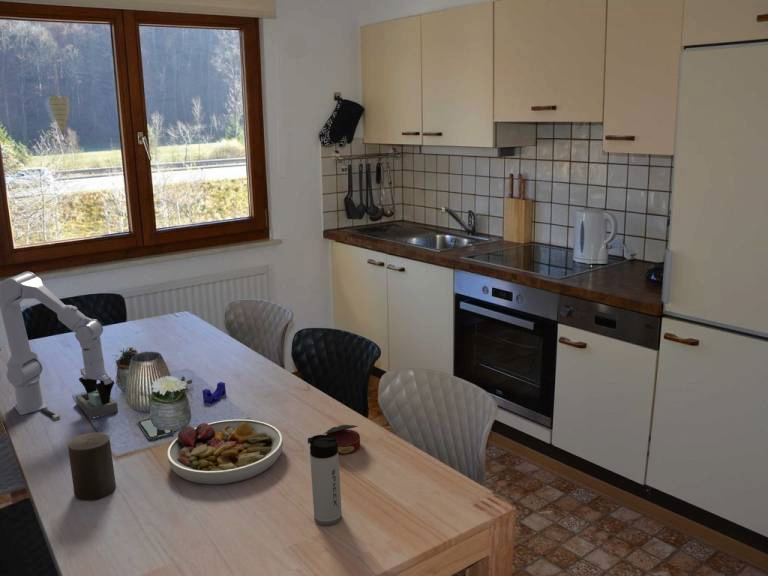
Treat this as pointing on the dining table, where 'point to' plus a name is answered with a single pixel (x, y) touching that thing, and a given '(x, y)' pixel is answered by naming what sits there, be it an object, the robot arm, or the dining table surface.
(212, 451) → the bowl
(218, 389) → the cable holder
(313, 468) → the travel mug
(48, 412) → the cable piece
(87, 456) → the pillar candle
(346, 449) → the canned food
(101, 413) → the grey piece
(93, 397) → the block
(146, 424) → the smartphone
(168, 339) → the dining table surface
